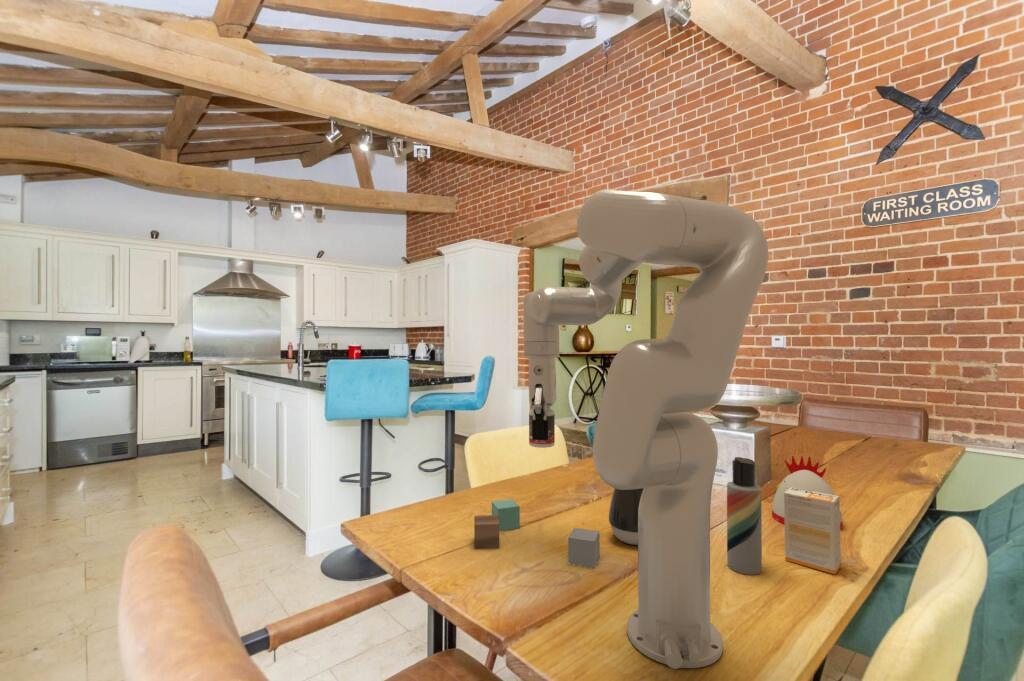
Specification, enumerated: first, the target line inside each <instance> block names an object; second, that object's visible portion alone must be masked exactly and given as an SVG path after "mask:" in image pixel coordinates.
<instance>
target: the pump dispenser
mask: <svg viewBox="0 0 1024 681" xmlns="http://www.w3.org/2000/svg"><path fill="white" fill-rule="evenodd" d="M643 489H644V488H640V489H632V490H620V489H616V488H613V492H612V495H611V499H610V504H609V505H610V506H609V511H608V522H609V524H610V527H611V530H612V532H613V534H614V536H615V537H616V538H617V539H618V540H620V541H621V542H623V543H625V544H627V545H628V544H629V545H633V546H638V509H639V503H640V498H641V495H642V492H643Z"/></svg>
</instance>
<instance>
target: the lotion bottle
mask: <svg viewBox="0 0 1024 681" xmlns="http://www.w3.org/2000/svg"><path fill="white" fill-rule="evenodd" d="M731 466H732V467H731V468H732V481H729V482H727V484H726V556H727V557H726V559H727V565H728V567H729V568H730V569H731V570H733V571H734V572H736V573H740V574H744V575H758V574H760V573H761V571H762V568H763V567H762V566H763V565H762V563H763V562H762V561H763V559H762V558H763V557H762V555H763V554H762V553H763V552H762V547H763V546H762V545H763V544H762V540H763V539H762V536H763V535H762V530H763V528H762V523H763V522H762V511H763V510H762V488H761V486H760V485H758V484H756V462H755V461H754V460H752V459H751V458H745V457H739V456H735V457H734V459H733V460H732V464H731Z"/></svg>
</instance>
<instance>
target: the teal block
mask: <svg viewBox="0 0 1024 681" xmlns="http://www.w3.org/2000/svg"><path fill="white" fill-rule="evenodd" d="M520 508H521V506H520V504H518V503H517V502H516V501H515V500H514V499H512V498H510V499H502V500H501V499H500V500H495V501H491V515H498V518H499V532H503V531H510V530H511V531H512V530H517V529H520V526H521V524H520V522H521V521H520V520H521V519H520V518H521V516H520V514H521V513H520V512H521V510H520Z"/></svg>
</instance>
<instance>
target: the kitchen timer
mask: <svg viewBox="0 0 1024 681" xmlns="http://www.w3.org/2000/svg"><path fill="white" fill-rule="evenodd" d="M795 459H796V458H795V457H794V455H791V463H789V462H788V461H787V460H786V459H785V460H784V463H785V465H786V467H787V469H788V471H789V474H788V475H786V477H784V478H783V479H782V481H781V482H780V483H778V484H777V485H776V486H775V487H776V488H777V489H776V492H775V495H774V498H773V500H772V507H771V517H772V518H773V520H775V521H776V522H778V523H780V524H781V525H784V526H785V515H784V492H785V491H787V490H788V489H789V488H791V487H793V488H798V489H803V490H809V491H814V492H820V493H825V494H830V495H836V494H835V492H834V491H833V489H832V487H831V486H830V484H829V483H828V482H827V481H826V480H825V479H824V478H823V476H824V475H825V473H826V471H827V467H824V469H823V470H822V471H820V472H818V468H819V464H820V463H819V461H817V462H816V463H815V464H814V465H813V464H812V460H811V456H808V458H807V462H806V464H805V461H804V458H803V455H801V457H800V460H799V463H798V464H797V462H796V460H795ZM843 521H844V520H843V515H842V511H841V510H840V531H842V529H843V526H844V524H843Z"/></svg>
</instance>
